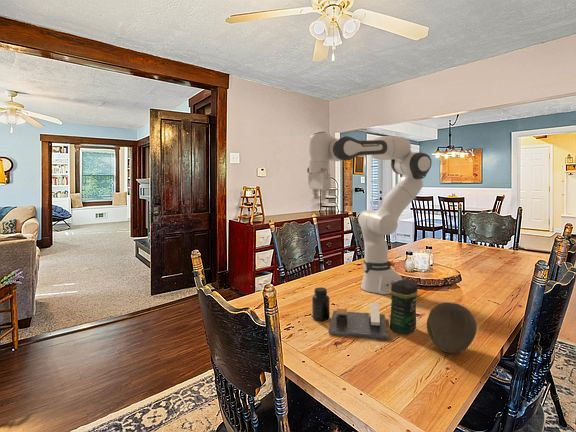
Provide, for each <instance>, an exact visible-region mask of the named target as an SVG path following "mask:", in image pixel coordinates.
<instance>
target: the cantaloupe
mask: <svg viewBox="0 0 576 432" xmlns="http://www.w3.org/2000/svg"><path fill="white" fill-rule="evenodd" d="M477 330H478V325H477V321H476V318H475V317H474V315H473V314H472V312H471V311H470V310H469V309H468V308H467V307H466V306H464V305H461V304H459V303H454V302H449V301H448V302H446V301H445V302H441V303H438V304H436V305H435V306H434V307H433V308H432V309H431V310H430V312H429V313H428V316H427V319H426V332H427V336H428V338H429V339H430V341H431V343H433V345H434V346H435V347H436V348H438V349H439V350H442V351H444V352H445V353H448V354H458V353H460V352H463V351H465V350H466V349H468V347H470V345H471V344H472V343H473V341H474V339H475V338H476V334H477Z"/></svg>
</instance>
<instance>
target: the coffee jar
mask: <svg viewBox="0 0 576 432" xmlns="http://www.w3.org/2000/svg"><path fill="white" fill-rule="evenodd" d="M390 294H391V295H390V296H391V304H390V314H389V315H390V318H389V329H390V330H391V331H392V332H394V333H395V334H397V335H404V336H406V335H407V336H408V335H410V334H412V333H414V332H415V331H416V329H417V297H418V283H417V281H415V280H414V279H409V278H406V277H405V278H402V280H399V281H396V282H394V283H392V285H391V293H390Z"/></svg>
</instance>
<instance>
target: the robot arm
mask: <svg viewBox="0 0 576 432" xmlns="http://www.w3.org/2000/svg"><path fill="white" fill-rule="evenodd" d="M308 144H309V146H308V153H309V163H308V164H309V165H308V167H307V169H306V173H307V178H308V179H307V180H308V188H309V189H311V190H312V193H313V194H312V195H313V199H314V200H318V199H319V195H318V192H319V191H320V192H321V193H320V201H326V195H327V193H328V192H327V191H330V190H331V188H332V184H331V174H330V161H331V162H343V161H344V162H345V161H351V160H353V159H356V158H357V157H359V156H372V158H373V159H374V160H381V161H390V166H391V167H390V168H391V170H392V171H393V172H394V173H396V174H397V175H400V176H401V175H402V176H401V178H400V180H399V181H398V182H397V183H396V184H395V185H394V186H393V187H392V188H391V189H390V190H389V192H387V194H386V195H385V196H384V197H383V203H382V204H381V206H380V207H379V209H377V210H376V209H366V210H363V211H361V213H359V215H358V217H357V219H358V225H359V227H360V228H361V232H362V233H361V234H362V238H363V243H364V259H363V277H362V280H361V281H362V282H361V285H360V288H361V289H362V290H363V291H364V292H369V293H374V294H380V295H385V296H386V295H389V294H391V285H392V283H394V282H396V281H399V280H402V279H403V277H402V276H401V274H399V273H398V272H397V271H395V270H394V269H393V268H394V267H395V266H396V263H395V262H393V261H390V260H388V257H389V256H388V255H389V247H388V245H389V244H388V242H387V241H386V239H385V236H390V235H392V234H394V233H395V232H396V231H397V228H398V225H399V224H398V220H399V218H400V217H401V215H402V213H403V211H404V210H405V209H406V208H407V207H408V206H409V205H410V204H411V203H412V201H413V200H415V198H416V197H417V196H418V194H419V193H420V191H421V190H422V188H423V185H424V182H423V181H422V180H423V179H425V177H426V176H427V174H428V173H429V171H430V170H431V167H432V162H433V161H432V159H431V156H430V155H429V154H427V153H425V152H421V151H419V152H414V151H412V150H411V148H412V147H411V145H412V144H411V142H410V140H409V139H408V138H406V137H404V136H397V135H396V136H395V135H390V136H389V135H384V136H378V137H376V138H374V139H372V140H371V139H370V140H359V139H356V138H354V137H351V136H343V137H340V138H336V137H333V136H332V135H330V133H328V132H327V131H318V132H316V133H315V132H314V133H313V134H311V135H310V138H309V143H308ZM318 190H319V191H318Z"/></svg>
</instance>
